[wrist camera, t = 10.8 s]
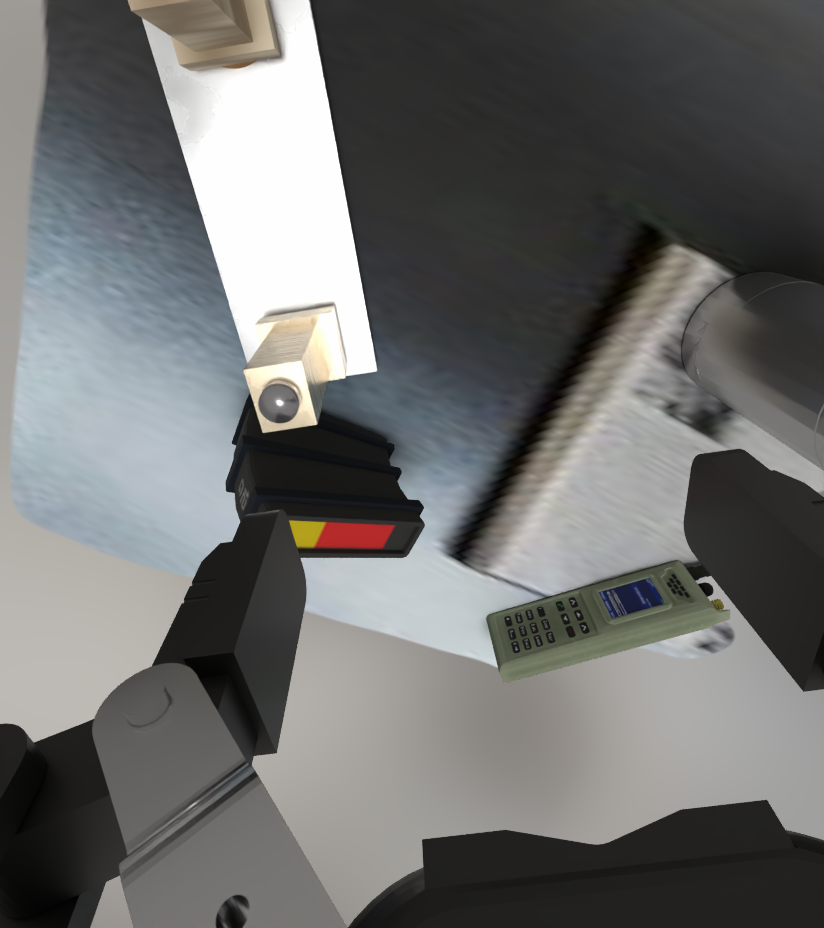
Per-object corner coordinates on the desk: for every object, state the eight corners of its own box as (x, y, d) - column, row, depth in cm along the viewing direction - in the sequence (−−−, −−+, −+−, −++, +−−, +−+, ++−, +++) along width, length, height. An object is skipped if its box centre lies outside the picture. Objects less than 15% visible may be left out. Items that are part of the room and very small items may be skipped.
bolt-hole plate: (278, -177, 26) (200, -446, 15) (377, 365, 40) (376, 444, 28) (99, -145, 26) (-114, -384, 15) (258, 384, 40) (210, 469, 29)
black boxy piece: (210, 372, 38) (262, 509, 27) (367, 405, 46) (453, 520, 35) (197, 417, 39) (241, 562, 29) (350, 441, 47) (428, 561, 37)
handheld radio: (483, 610, 53) (739, 535, 50) (491, 631, 54) (739, 560, 51) (497, 667, 47) (786, 586, 44) (505, 688, 49) (785, 612, 46)
